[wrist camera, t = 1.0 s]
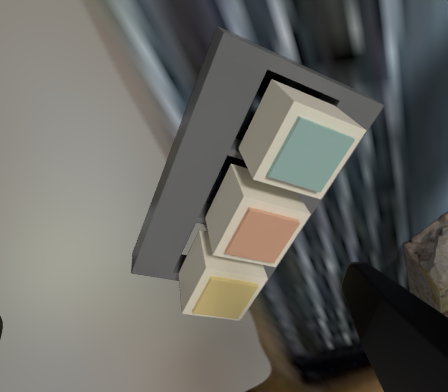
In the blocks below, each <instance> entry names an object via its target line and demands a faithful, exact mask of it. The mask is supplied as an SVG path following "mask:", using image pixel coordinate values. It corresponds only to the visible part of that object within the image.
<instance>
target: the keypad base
mask: <svg viewBox="0 0 448 392" xmlns="http://www.w3.org/2000/svg"><path fill="white" fill-rule="evenodd" d="M267 69H268V70H270V71H272V72H275V73H277V74H279V75H282V76H284V77H286V78H289V79H291V80H293V81H295V82H298V83H300V84H302V85H305V86H307V87H309V88H312V89H314V90H316V91H319V92H321V93H323V94H322V95H321V97H320V100H322V101H325V102H327V103H329V104H332V105H334V106H336V107H337V108H338V109H340V110H341V111H342V112H344V113H345V114H346V115H347V116H349V117H350V118H351V119H353V120H354V121H355V122H356V123H358V124H359V125H360V126H362V127H363V128H364V129H365V130H367V131H368V129H369V128H370V126H371V125H372V123H373V122H374V120H375V119H376V117H377V116H378V114H379V113H380V111H381V110H382V108H383V107H384V105H383V104H381V103H379V102H378V101H376V100H374V99H373V98H371V97H370V96H368V95H366V94H364V93H362V92H360V91H358V90H355V89H353V88H351V87H349V86H347V85H345V84H342V83H340V82H338V81H336V80H334V79H331V78H329V77H327V76H325V75H323V74H321V73H318V72H316V71H314V70H312V69H310V68H307V67H305V66H303V65H301V64H299V63H297V62H294V61H292V60H290V59H288V58H286V57H283V56H281V55H279V54H277V53H275V52H273V51H270V50H268V49H266V48H264V47H262V46H259V45H257V44H255V43H253V42H251V41H249V40H246V39H244V38H242V37H240V36H238V35H235V34H233V33H231V32H229V31H227V30H225V29H222V28H220V27H218V26H217V27H216V30H215V33H214V35H213V38H212V41H211V43H210V46H209V49H208V52H207V54H206V57H205V60H204V62H203V65H202V68H201V70H200V73H199V76H198V78H197V81H196V84H195V86H194V89H193V92H192V95H191V97H190V100H189V103H188V105H187V108H186V111H185V113H184V116H183V119H182V121H181V124H180V127H179V129H178V132H177V135H176V137H175V140H174V143H173V146H172V148H171V151H170V154H169V156H168V159H167V162H166V164H165V167H164V170H163V173H162V175H161V178H160V181H159V183H158V186H157V189H156V191H155V194H154V197H153V199H152V202H151V205H150V208H149V210H148V213H147V215H146V218H145V221H144V223H143V226H142V229H141V232H140V234H139V237H138V240H137V242H136V245H135V248H134V250H133V254H132V269H131V273H132V274H139V275H145V276H151V277H158V278H165V279H171V280H177V281H179V274H178V273H179V271H180V269H181V267H182V265H183V263H184V261H185V259H186V257H187V255H182V251H183V249H184V247H185V245H186V243H187V241H188V239H189V236H190V234H191V232H192V230H193V228H194V226H195V223H196V222H197V223H201V224H206V220H205V217H206V215H207V213H208V211H209V209H210V207H211V203H207V202H206V200H207V198H208V196H209V194H210V191H211V189H212V187H213V185H214V183H215V181H216V179H217V176H218V174H219V172H220V170H221V168H222V166H223V164H224V161H225V159H226V157H227V155H229V156H232V157H235V158H238V159H241V160H244V159H243V157H242V155H241V153H240V151H239V149H238V148H239V146H240V144H241V142H242V140H239V139H236V136H237V134H238V131H239V129H240V127H241V125H242V123H243V121H244V119H245V116H246V114H247V112H248V110H249V108H250V106H251V104H252V101H253V99H254V97H255V95H256V93H257V91H258V89H259V86H260V84H261V82H262V80H263V78H264V76H265V74H266V71H267ZM367 131H366V132H367ZM366 132H365V134H366ZM365 134H364V135H365ZM364 135H363V137H364ZM363 137H362V138H363ZM362 138H361V140H362ZM361 140H360V141H361ZM360 141H359V143H360ZM359 143H358V144H359ZM358 144H357V146H358ZM357 146H356V147H357ZM356 147H355V149H356ZM355 149H354V150H355ZM354 150H353V152H354ZM353 152H352V153H353ZM352 153H351V155H352ZM351 155H350V156H351ZM350 156H349V158H350ZM349 158H348V159H349ZM348 159H347V161H348ZM347 161H346V162H347ZM346 162H345V164H346ZM345 164H344V165H345ZM344 165H343V167H344ZM343 167H342V168H343ZM342 168H341V170H342ZM341 170H340V171H341ZM340 171H339V173H340ZM339 173H338V174H339ZM338 174H337V176H338ZM337 176H336V177H337ZM336 177H335V179H336ZM335 179H334V180H335ZM334 180H333V182H334ZM333 182H332V183H333ZM332 183H331V185H332ZM331 185H330V186H331ZM330 186H329V188H330ZM329 188H328V189H329ZM328 189H327V191H328ZM327 191H326V192H327ZM326 192H325V194H326ZM325 194H324V195H325ZM298 195H299V196H300V198H301V200H302V201H303V203H304V204H305V206H306V207H307V209H308V211H309V212H310V214H311V215H312V213H313V212H314V210H315V209H316V207H317V206H318V204H319V203H320V201H321V200H322V198H323V197H324V195H323V197H322V198H321V199H318V198H314V197H311V196H308V195H304V194H301V193H298ZM311 215H310V216H311ZM310 216H309V218H310ZM309 218H308V219H309ZM307 221H308V220H307ZM307 221H306V222H307ZM305 224H306V223H305ZM305 224H304V225H305ZM303 227H304V226H303ZM303 227H302V228H303ZM301 230H302V229H301ZM301 230H300V231H301ZM299 233H300V232H299ZM299 233H298V234H299ZM297 236H298V235H297ZM297 236H296V237H297ZM295 239H296V238H295ZM295 239H294V240H295ZM293 242H294V241H293ZM293 242H292V243H293ZM291 245H292V244H291ZM291 245H290V246H291ZM289 248H290V247H289ZM289 248H288V249H289ZM287 251H288V250H287ZM287 251H286V252H287ZM285 254H286V253H285ZM285 254H284V255H285ZM283 257H284V256H283ZM283 257H282V258H283ZM281 260H282V259H281ZM281 260H280V261H281ZM279 263H280V262H279ZM279 263H278V264H279ZM277 266H278V265H277ZM277 266H276V267H277ZM263 267H264V269H265V272H266V275H267V278H268V279H269V278H270V276H271V275H272V273H273V272H274V270H275V269H276V267H272V266H267V265H263ZM267 281H268V280H267ZM267 281H266V282H267ZM265 284H266V283H265ZM265 284H264V285H265ZM263 287H264V286H263ZM263 287H262V288H263ZM261 290H262V289H261ZM261 290H260V291H261ZM259 293H260V292H259Z"/></svg>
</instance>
